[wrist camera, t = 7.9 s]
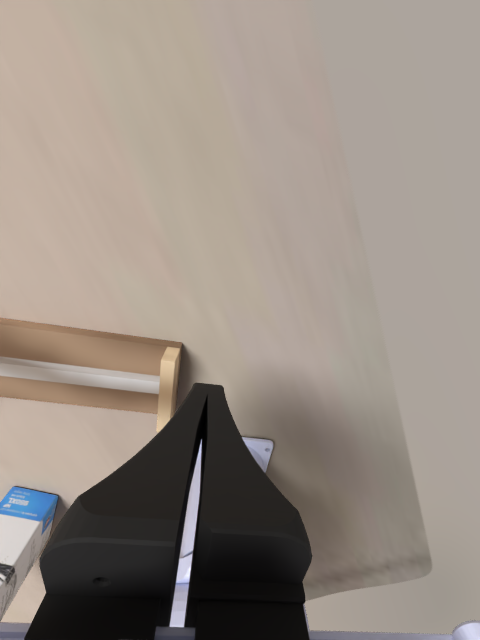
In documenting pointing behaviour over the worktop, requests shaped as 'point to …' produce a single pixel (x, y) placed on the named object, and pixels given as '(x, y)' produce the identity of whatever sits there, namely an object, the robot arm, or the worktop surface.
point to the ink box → (22, 537)
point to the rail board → (89, 368)
